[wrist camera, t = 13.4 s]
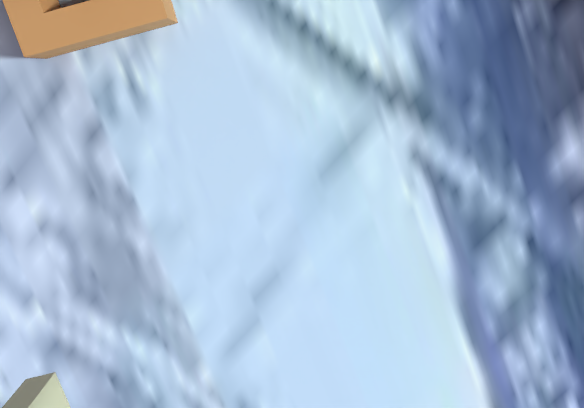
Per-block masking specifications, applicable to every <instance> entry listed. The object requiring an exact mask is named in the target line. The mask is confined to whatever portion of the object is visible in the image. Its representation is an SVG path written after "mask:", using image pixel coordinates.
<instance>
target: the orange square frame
mask: <svg viewBox="0 0 584 408" xmlns="http://www.w3.org/2000/svg"><path fill="white" fill-rule="evenodd" d="M2 1H3V3H4V6H5V8H6V11H7V14H8V16H9V19H10V21H11V24H12V27H13V29H14V32H15V35H16V37H17V40H18V42H19V45H20V48H21V50H22V53H23V56H24V57H28V58H45V59H47V58H51V57H54V56H58V55H62V54H65V53H69V52H73V51H76V50H80V49H84V48H87V47H91V46H95V45H98V44H102V43H106V42H109V41H113V40H117V39H120V38H124V37H128V36H132V35H135V34H139V33H143V32H146V31H150V30H154V29H157V28H161V27H165V26H168V25H172V24H176V23H178V22H177V18H176V15H175V12H174V8H173V5H172V2H171V0H89V1H85V2H82V3H78V4H75V5H71V6H67V7H64V8H61V7H60V4H59V1H58V0H2Z"/></svg>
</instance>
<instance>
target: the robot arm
mask: <svg viewBox="0 0 584 408" xmlns="http://www.w3.org/2000/svg"><path fill="white" fill-rule="evenodd" d="M2 408H70V405H69V403H68V401H67V398H66V396H65V394H64V392H63V389H62V387H61V385H60V382H59V380H58V378H57V376H56V373H55V372H54V373H50V374H46V375H42V376H38V377H33V378H29V379H26V380H25V381H24V382H23V383H22V384H21V386H20V387H19V388H18V389H17V390H16V392H15V393H14V394H13V395H12V396H11V398H10V399H9V400H8V401H7V402H6V404H5V405H4V406H3V407H2Z"/></svg>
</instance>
